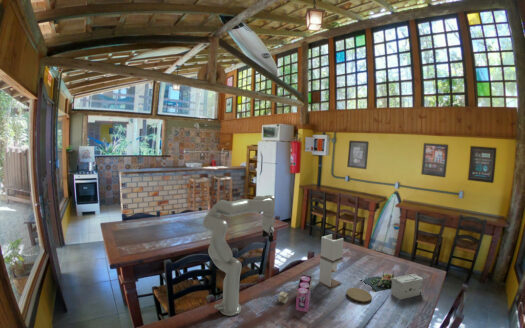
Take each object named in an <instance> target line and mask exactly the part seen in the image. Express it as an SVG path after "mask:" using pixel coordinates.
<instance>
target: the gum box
mask: <svg viewBox="0 0 525 328" xmlns="http://www.w3.org/2000/svg"><path fill="white" fill-rule="evenodd" d="M311 293H312V276H311V275H305V274H301V275H300V278H299V282H298V286H297V288H296V300H295V301H296V302H295V311H300V312H306V313H308V310H309V305H310V300H311Z"/></svg>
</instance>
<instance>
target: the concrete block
mask: <svg viewBox="0 0 525 328" xmlns="http://www.w3.org/2000/svg"><path fill="white" fill-rule="evenodd" d="M401 272H402V273H404V274H406V275H400V276H396V277H395V276H394V278H392V287H391V289H390V290H391V291H390V292H391V293H390V294H391V295H392V296H393V297H394V298H396V299H398V300H404V299H409V298H413V297H417V296H421V295H422V291H423V282H424V278H423V277H422V276H419V275H417V274H416V273H413V274H409V273H406V272H404V271H401Z"/></svg>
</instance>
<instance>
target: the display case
mask: <svg viewBox="0 0 525 328" xmlns="http://www.w3.org/2000/svg"><path fill="white" fill-rule="evenodd" d="M320 241H321V243H320V260H319V275H318V276H319V278H318V284H319V285H321V286H323V287H326V288H327V289H329V290H333V289H335V288H337V287H339V286H341V285H342V283H341V282H340V281H338V280H336V279H334V278H332V273H333V274H334V273H337V272H338V271H337V270H338V264H340V263H343V255H344V254H343V253H344V237H341V238H338V239H333V234H332V233H331V234H328V235H324V236H323V235H322V236H321V239H320Z"/></svg>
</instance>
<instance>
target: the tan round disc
mask: <svg viewBox="0 0 525 328" xmlns="http://www.w3.org/2000/svg"><path fill="white" fill-rule="evenodd" d="M345 295H346V297H347V299H349V300H350V301H352V302H353V303H356V304H358V305H359V304H361V305H367V304H370V303H372V300H373V296H372V294H371V293H370V292H369V291H367V290H365V289H363V288H359V287H351V288H348V289H347V290H346V294H345Z"/></svg>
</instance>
